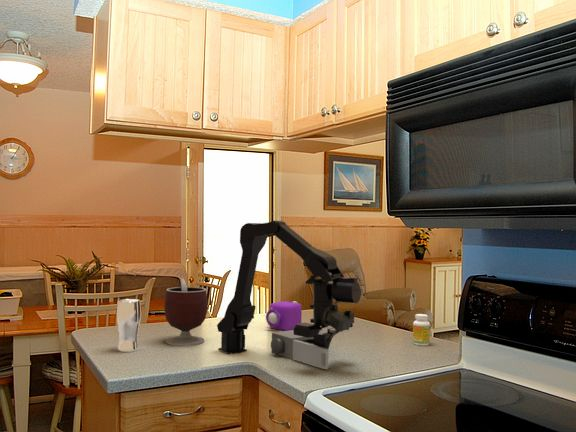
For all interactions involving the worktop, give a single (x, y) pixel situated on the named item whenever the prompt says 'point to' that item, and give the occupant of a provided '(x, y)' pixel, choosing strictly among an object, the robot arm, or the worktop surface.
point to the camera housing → (287, 342)
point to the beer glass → (128, 324)
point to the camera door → (310, 354)
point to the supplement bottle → (421, 330)
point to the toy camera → (284, 315)
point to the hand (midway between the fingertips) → (324, 356)
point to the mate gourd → (185, 312)
